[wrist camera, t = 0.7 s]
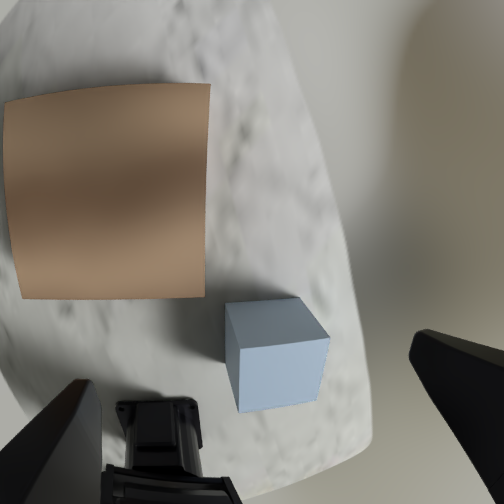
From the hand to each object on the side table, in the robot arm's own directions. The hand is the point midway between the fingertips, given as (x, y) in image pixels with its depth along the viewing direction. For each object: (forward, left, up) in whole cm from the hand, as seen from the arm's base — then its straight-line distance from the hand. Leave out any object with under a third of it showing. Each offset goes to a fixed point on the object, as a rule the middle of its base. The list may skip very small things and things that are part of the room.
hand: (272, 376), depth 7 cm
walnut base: (+3, +6, -12) cm, 14 cm away
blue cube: (-7, -3, -12) cm, 14 cm away
